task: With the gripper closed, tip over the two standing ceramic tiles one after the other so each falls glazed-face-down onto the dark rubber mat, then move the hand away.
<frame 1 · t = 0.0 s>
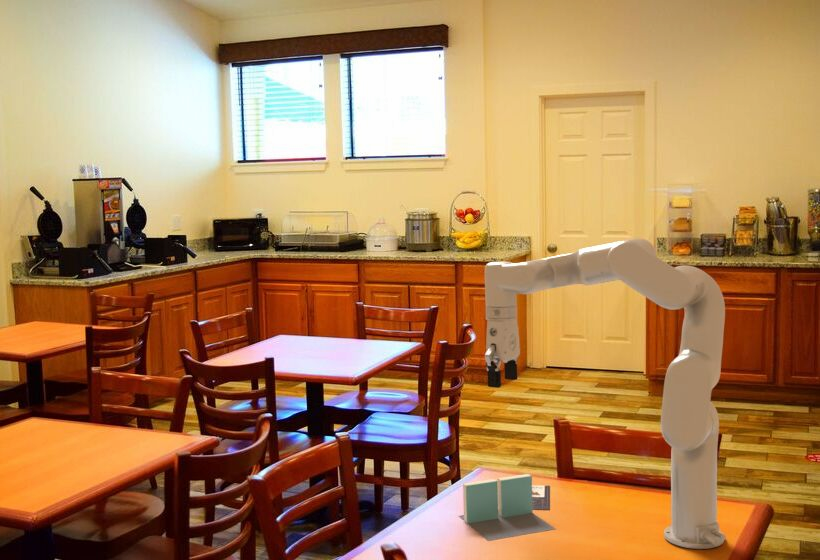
hand: (502, 383, 214), 31 cm above the table, tool pointing down, fingers open, 9 cm apart
tile b: (481, 519, 208), resting on mat
chocolate bar: (531, 501, 223), on the table
tile a: (515, 513, 211), resting on mat
mat: (505, 523, 206), on the table
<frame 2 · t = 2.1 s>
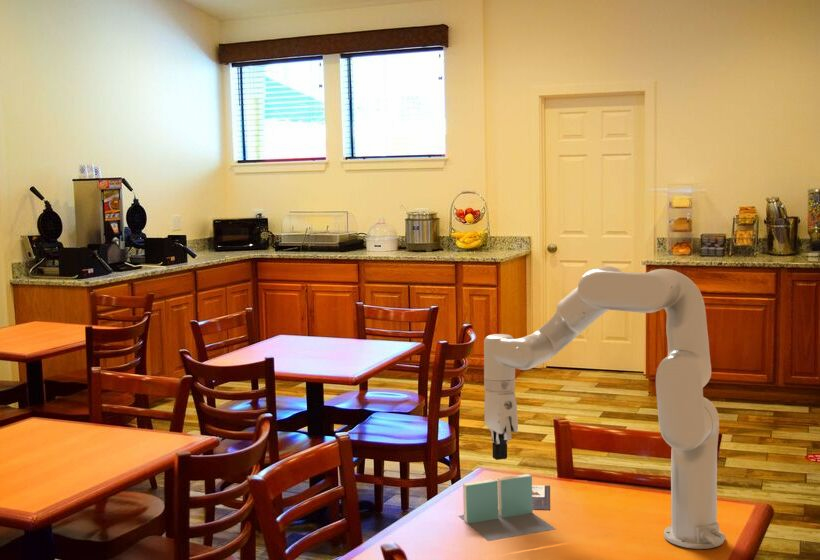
hand: (499, 458, 217), 12 cm above the table, tool pointing down, fingers closed
nothing on the table moved.
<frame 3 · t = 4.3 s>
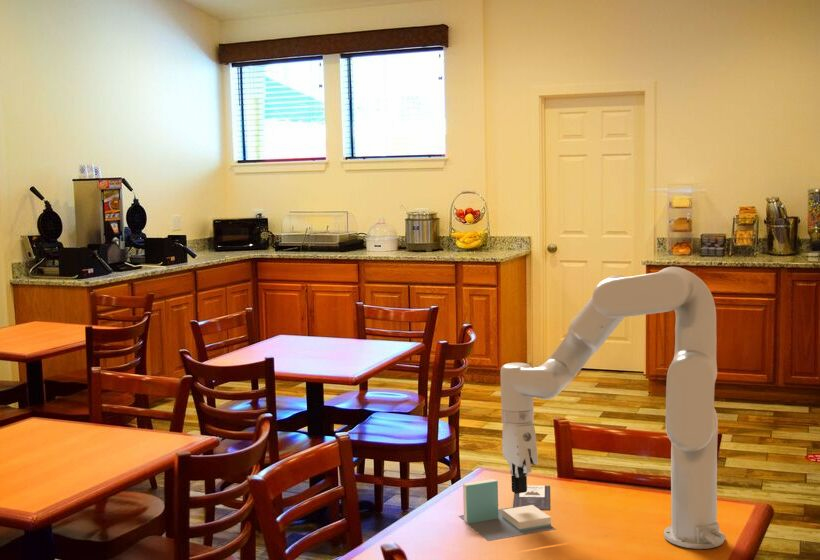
hand: (519, 491, 209), 6 cm above the table, tool pointing down, fingers closed
tile a: (517, 511, 210), point 1 cm above the table, tilted 90°, touching mat
everything else where it was.
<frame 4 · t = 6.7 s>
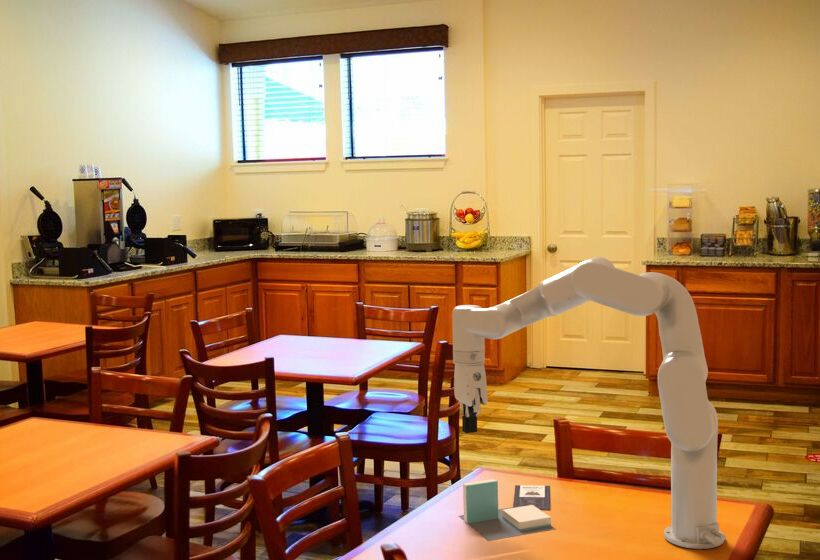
hand: (469, 431, 213), 20 cm above the table, tool pointing down, fingers closed
nothing on the table moved.
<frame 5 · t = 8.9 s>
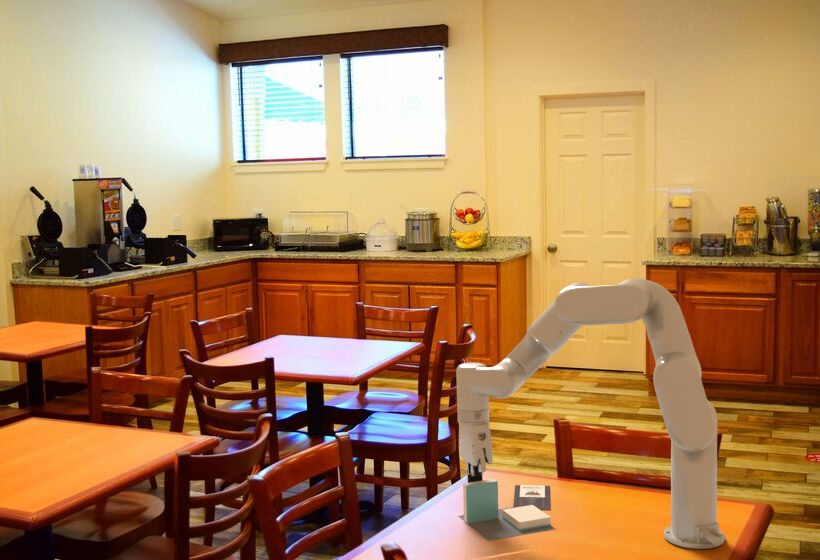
hand: (475, 490, 211), 6 cm above the table, tool pointing down, fingers closed
tile b: (481, 519, 208), resting on mat, touching gripper
everything else where it was.
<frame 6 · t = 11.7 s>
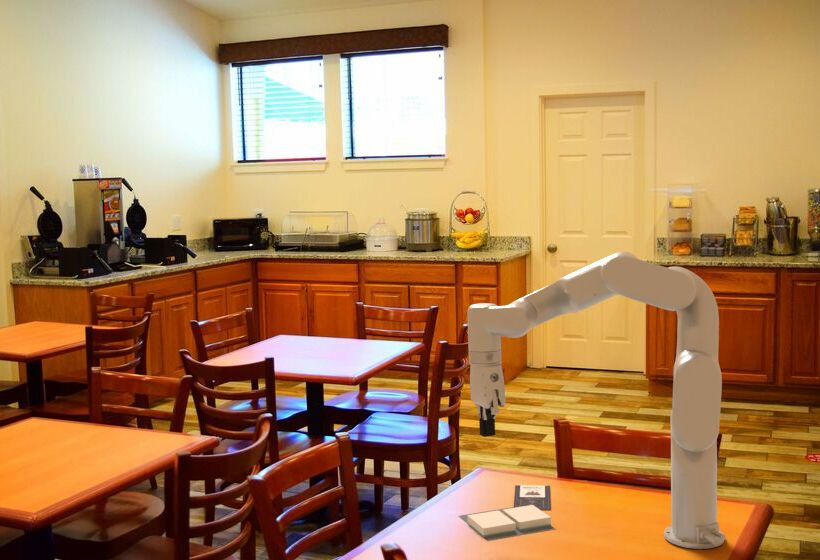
hand: (487, 435, 205), 21 cm above the table, tool pointing down, fingers closed
tile b: (483, 516, 207), point 1 cm above the table, tilted 90°, touching mat
everything else where it was.
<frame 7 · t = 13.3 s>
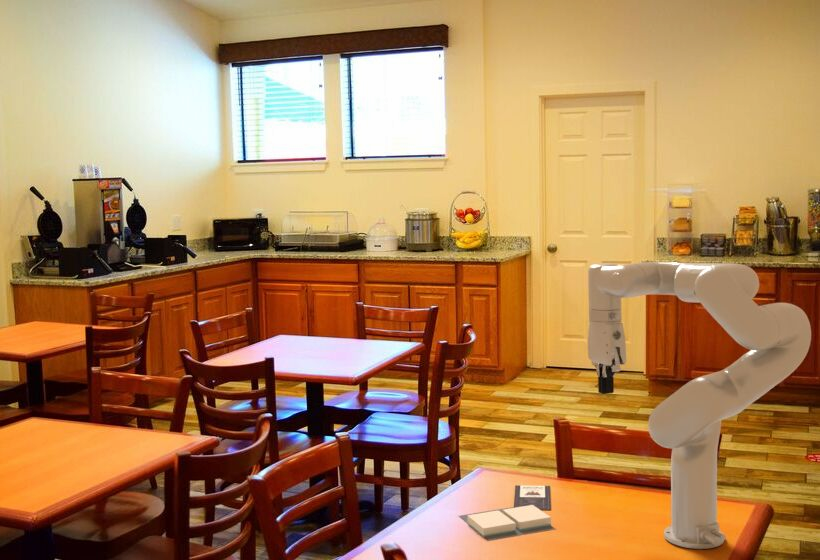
hand: (606, 392, 209), 29 cm above the table, tool pointing down, fingers closed
nothing on the table moved.
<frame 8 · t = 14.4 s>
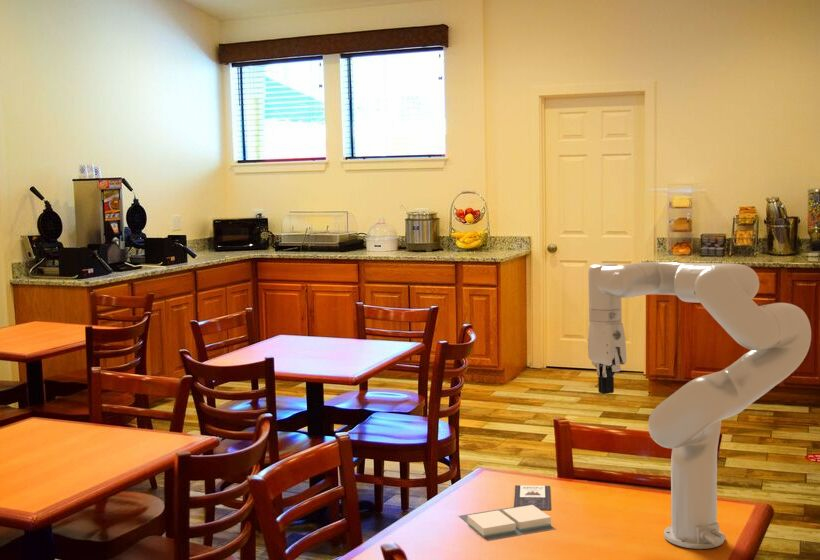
hand: (606, 392, 209), 29 cm above the table, tool pointing down, fingers closed
nothing on the table moved.
at the end: tile a tilted 90°; tile b tilted 90°; tile a inside the target area on the mat (5.4 cm from its centre), point 1.4 cm above the mat's base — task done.
